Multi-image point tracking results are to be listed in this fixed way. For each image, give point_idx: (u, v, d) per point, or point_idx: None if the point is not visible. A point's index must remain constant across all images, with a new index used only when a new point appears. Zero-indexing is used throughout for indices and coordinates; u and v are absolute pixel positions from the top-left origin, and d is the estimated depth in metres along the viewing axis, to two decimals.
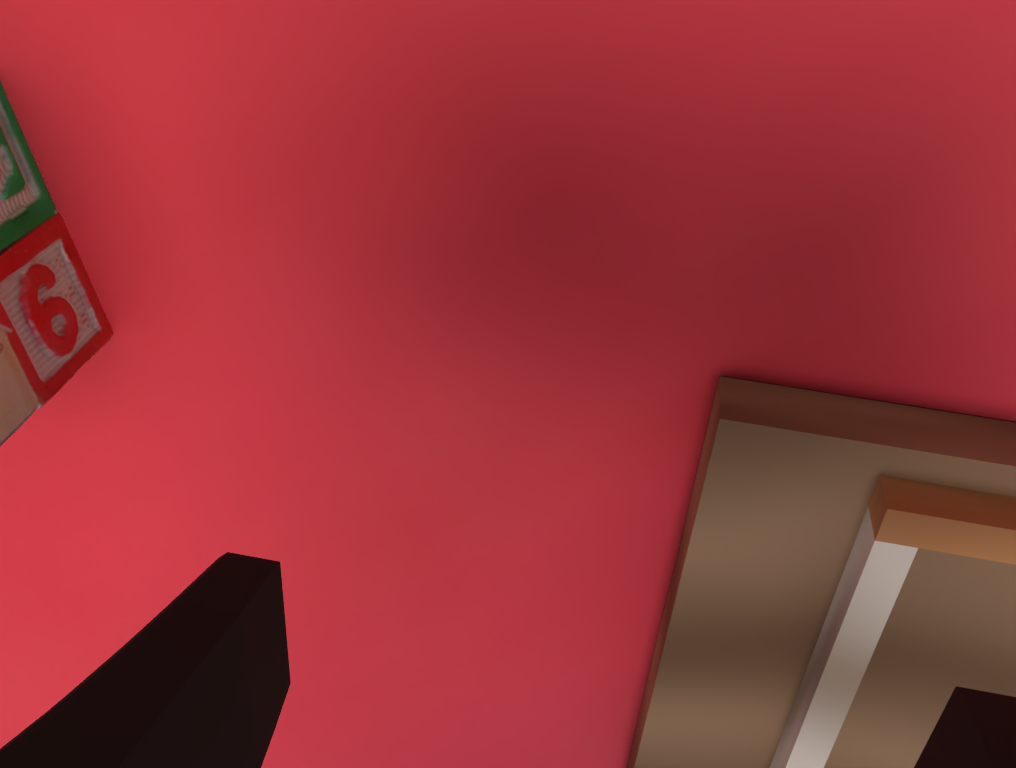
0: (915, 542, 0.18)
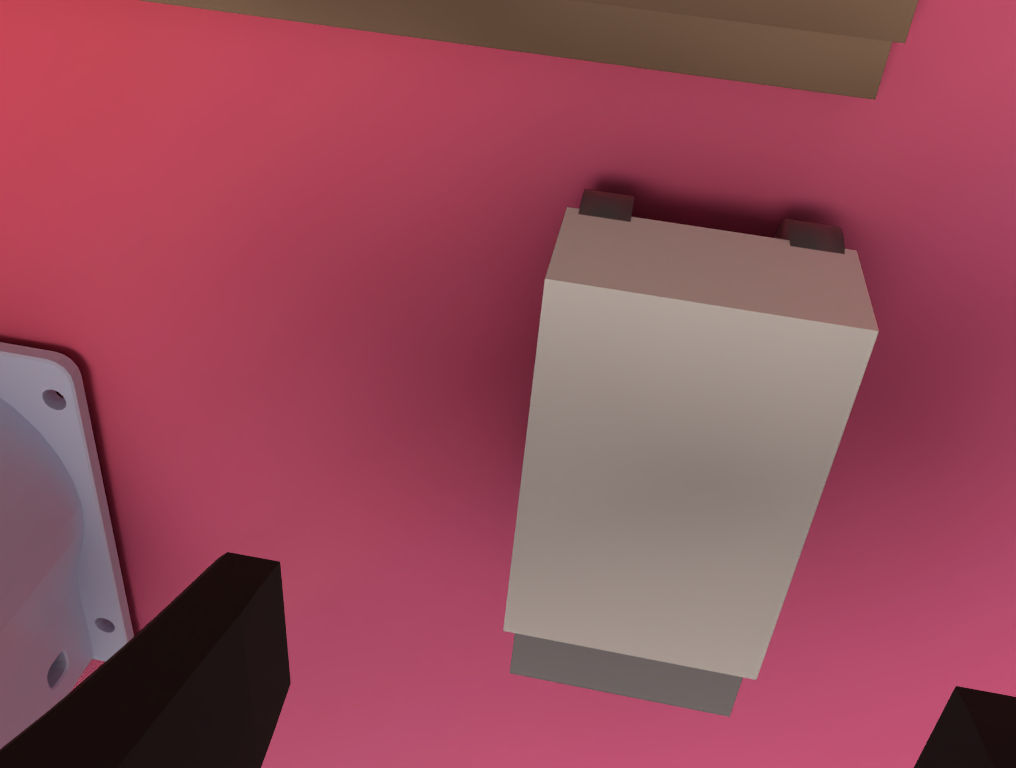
0: None
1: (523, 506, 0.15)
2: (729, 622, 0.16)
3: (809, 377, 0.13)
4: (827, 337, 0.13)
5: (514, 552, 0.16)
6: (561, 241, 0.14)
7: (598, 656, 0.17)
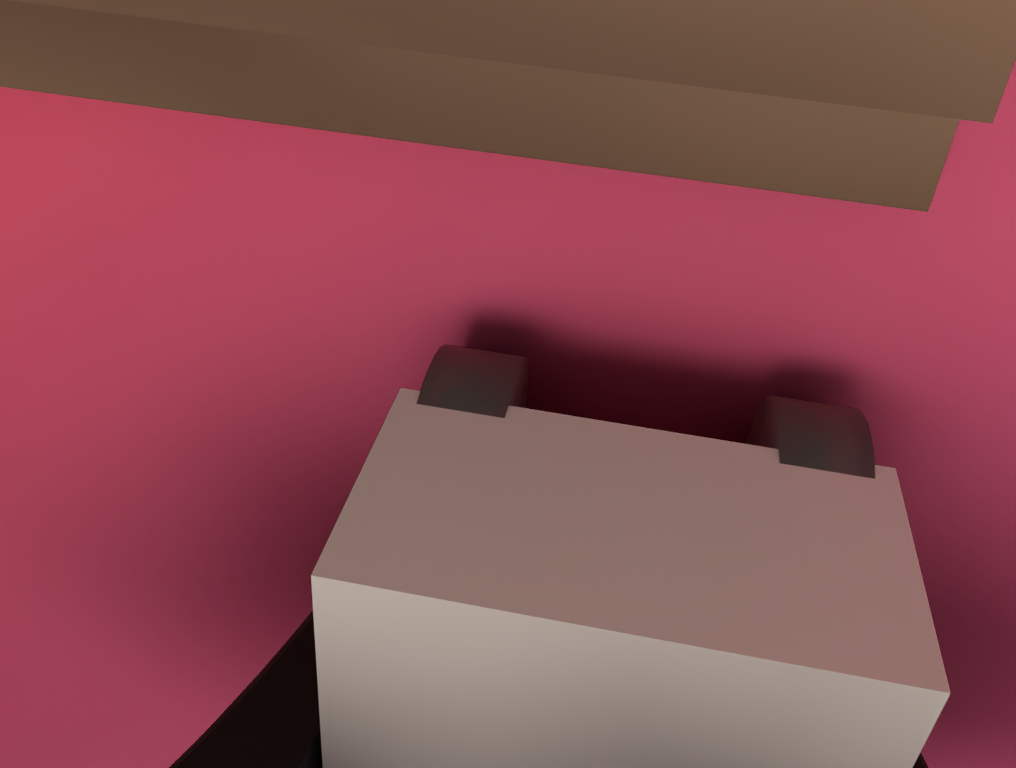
0: None
1: None
2: None
3: (814, 752, 0.07)
4: (849, 695, 0.07)
5: None
6: (369, 472, 0.08)
7: None
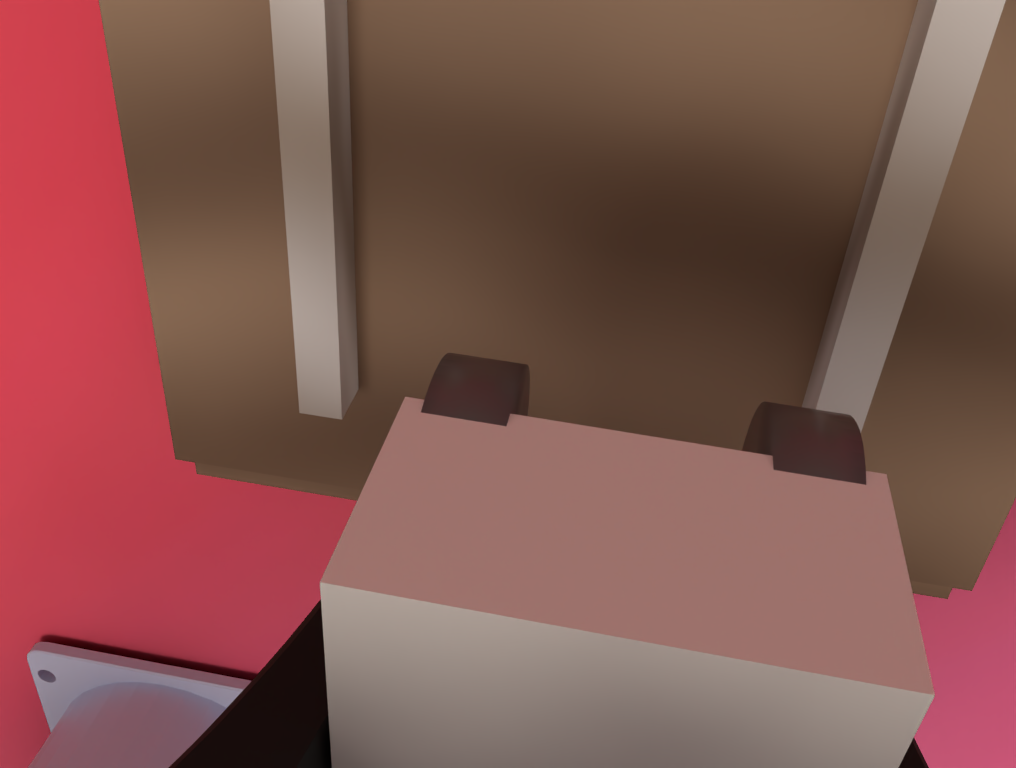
0: None
1: None
2: None
3: (805, 751, 0.07)
4: (838, 697, 0.07)
5: None
6: (375, 480, 0.08)
7: None
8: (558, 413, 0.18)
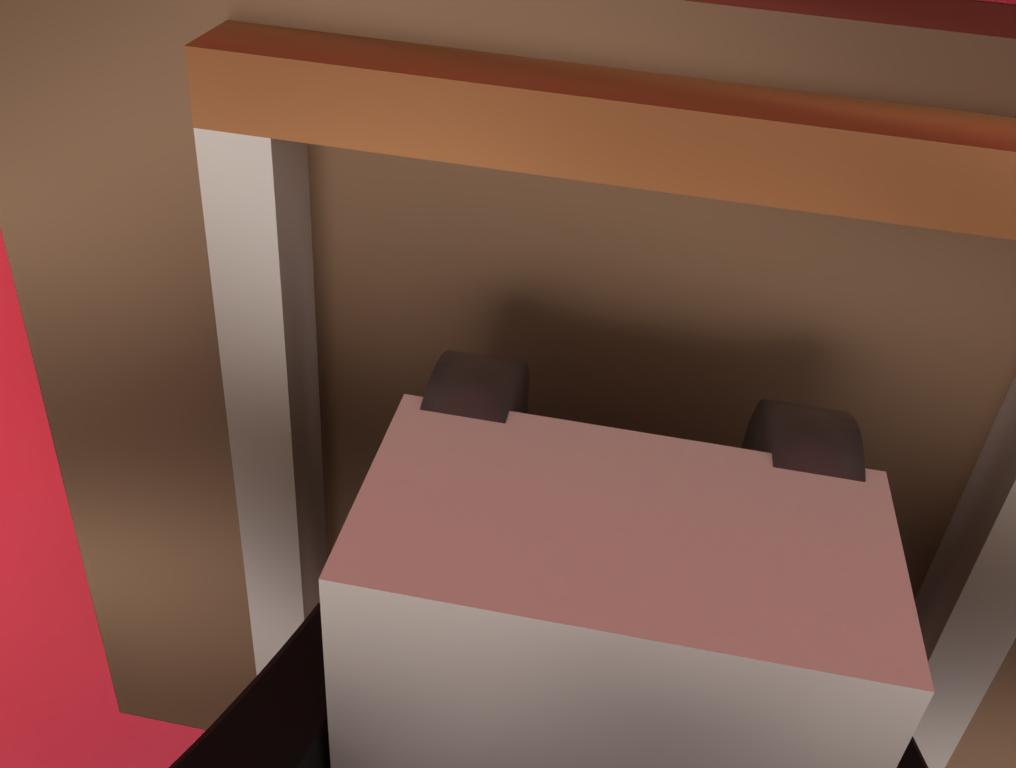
0: (261, 126, 0.10)
1: None
2: None
3: (804, 748, 0.07)
4: (837, 694, 0.07)
5: None
6: (374, 478, 0.08)
7: None
8: None
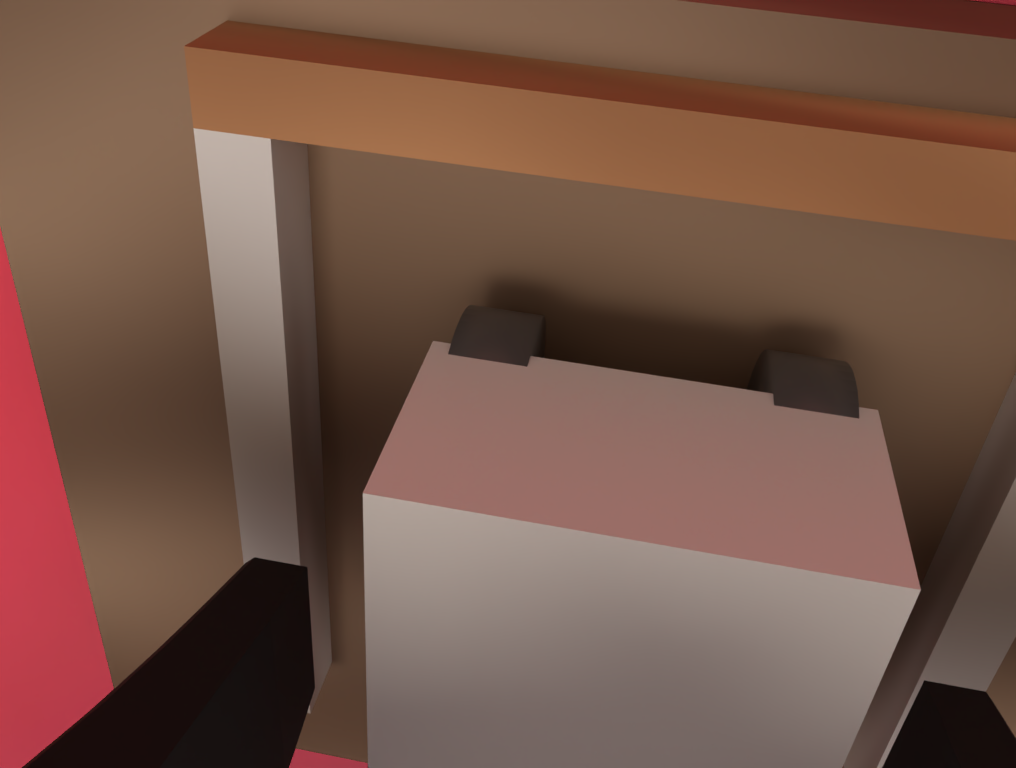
0: (261, 126, 0.10)
1: None
2: None
3: (804, 648, 0.08)
4: (833, 594, 0.08)
5: None
6: (408, 410, 0.09)
7: None
8: None
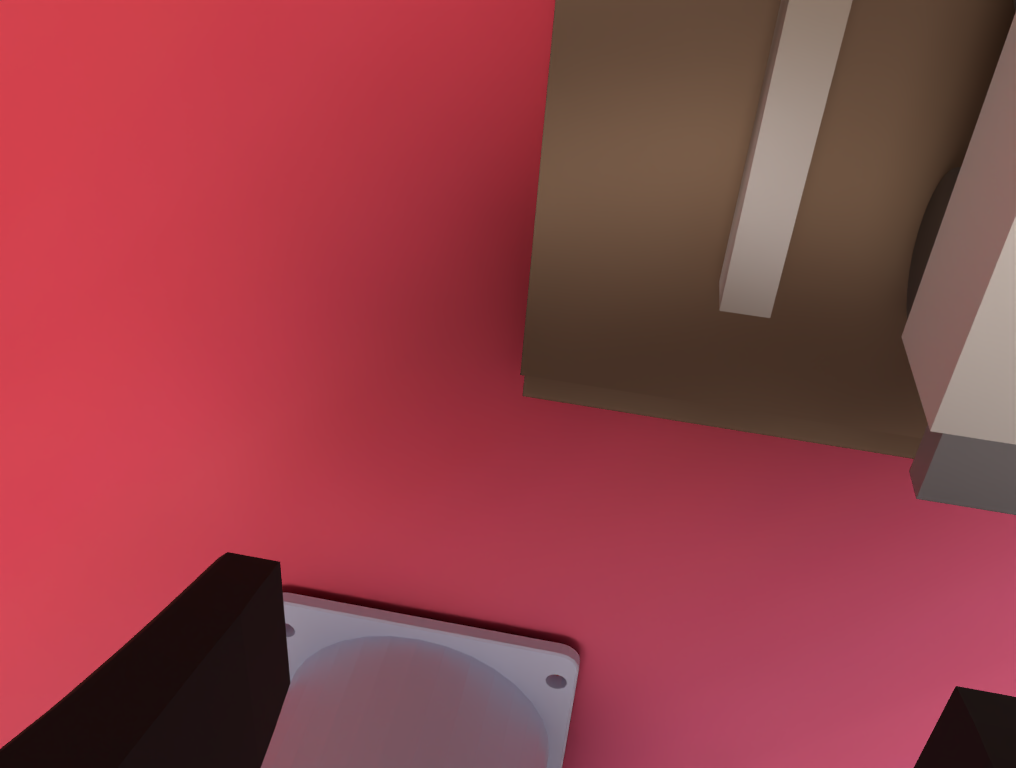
0: None
1: None
2: None
3: None
4: None
5: (984, 303, 0.12)
6: None
7: None
8: None
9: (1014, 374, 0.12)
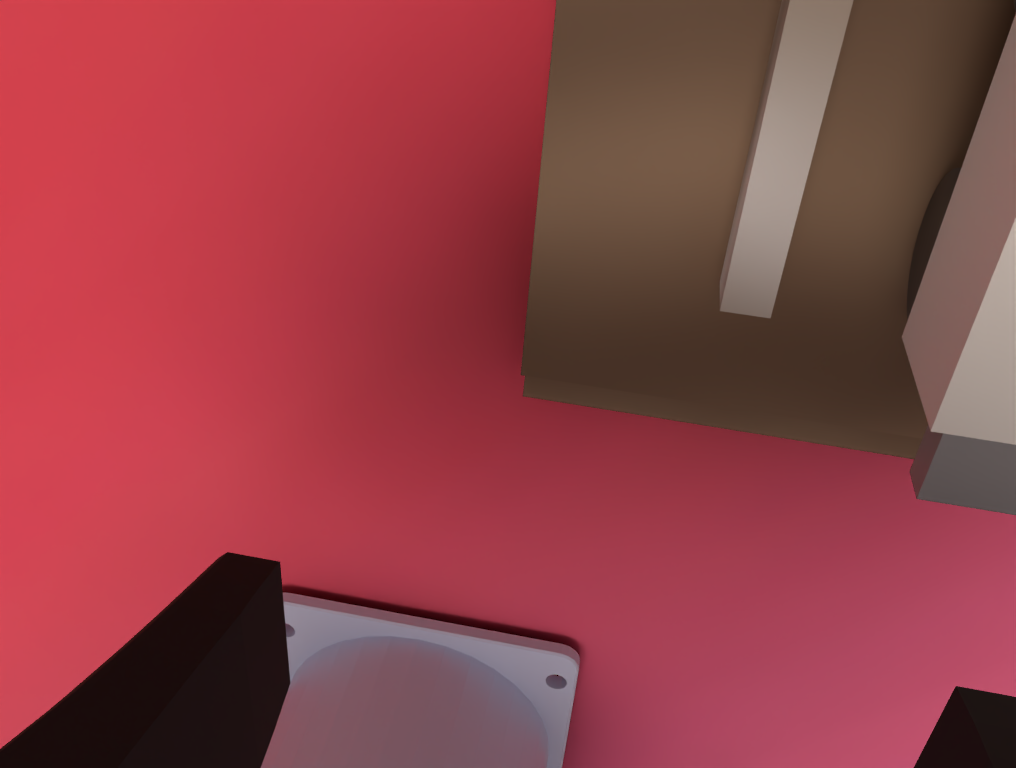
0: None
1: None
2: None
3: None
4: None
5: (984, 303, 0.12)
6: None
7: None
8: None
9: (1014, 374, 0.12)
